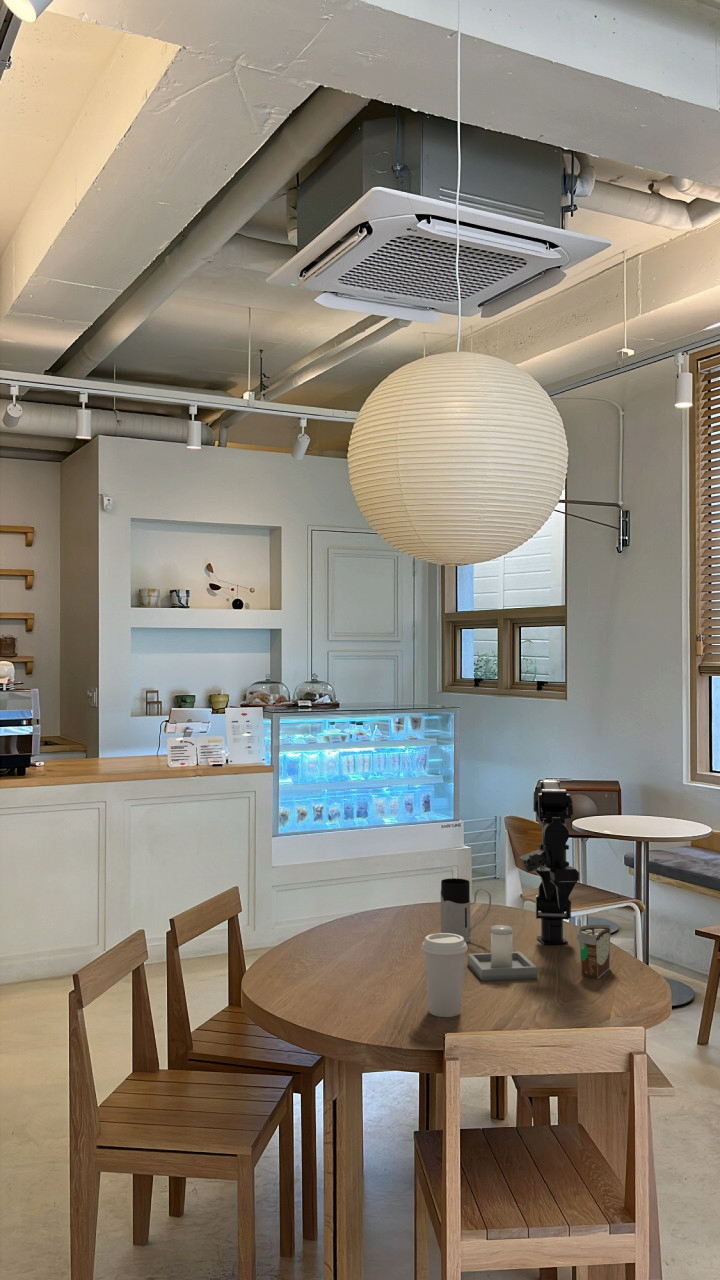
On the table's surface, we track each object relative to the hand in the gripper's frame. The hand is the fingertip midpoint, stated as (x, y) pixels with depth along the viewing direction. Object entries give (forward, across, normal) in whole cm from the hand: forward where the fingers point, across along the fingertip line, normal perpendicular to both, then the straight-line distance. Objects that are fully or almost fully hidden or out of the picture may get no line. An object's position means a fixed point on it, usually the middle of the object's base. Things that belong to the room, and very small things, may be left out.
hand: (554, 903), depth 239 cm
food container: (+13, +13, +4) cm, 19 cm away
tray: (+13, +10, -16) cm, 23 cm away
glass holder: (+13, -19, -18) cm, 29 cm away
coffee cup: (+13, +35, -36) cm, 52 cm away
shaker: (+12, +10, -16) cm, 22 cm away
